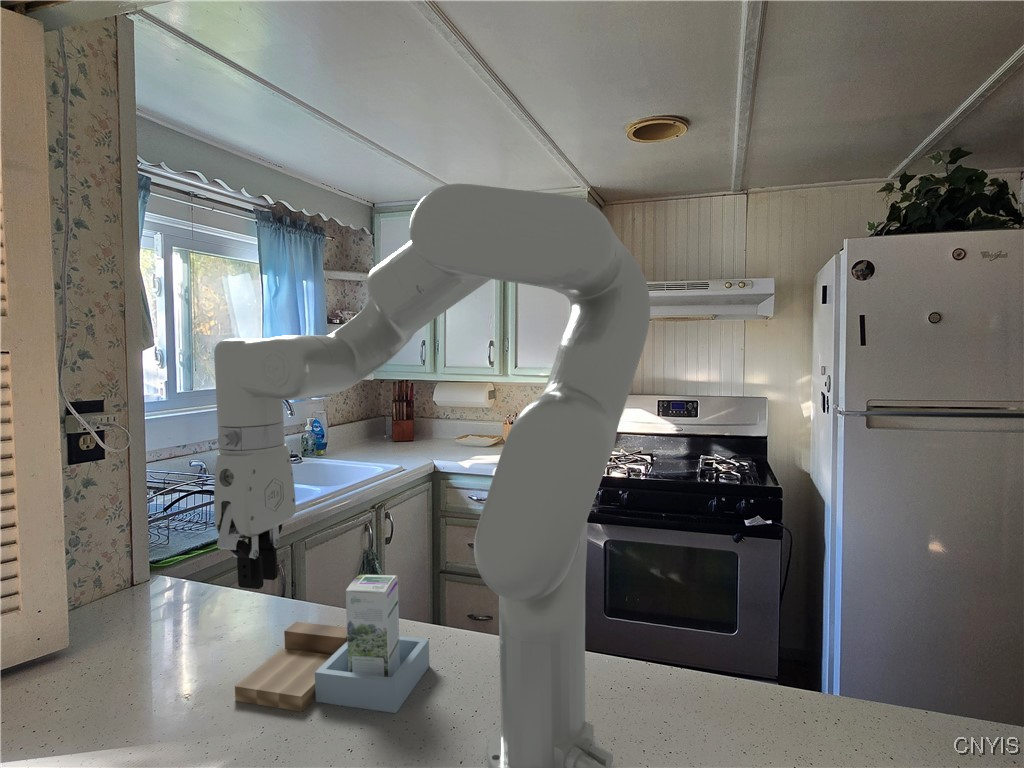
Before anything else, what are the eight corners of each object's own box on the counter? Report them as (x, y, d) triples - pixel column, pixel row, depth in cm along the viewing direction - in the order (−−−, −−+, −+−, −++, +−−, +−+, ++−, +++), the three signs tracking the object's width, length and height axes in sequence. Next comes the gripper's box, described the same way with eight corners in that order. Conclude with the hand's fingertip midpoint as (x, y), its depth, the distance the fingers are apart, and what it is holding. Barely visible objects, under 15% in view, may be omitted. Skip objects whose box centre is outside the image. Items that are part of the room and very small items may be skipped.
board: (343, 669, 85) (342, 656, 85) (301, 711, 76) (301, 696, 76) (282, 661, 88) (282, 648, 88) (235, 700, 78) (234, 686, 78)
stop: (356, 657, 89) (355, 628, 88) (346, 668, 86) (345, 638, 86) (297, 650, 91) (296, 621, 91) (285, 660, 88) (284, 630, 88)
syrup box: (401, 672, 85) (399, 573, 84) (389, 696, 79) (386, 590, 78) (362, 670, 85) (359, 572, 84) (347, 694, 79) (344, 589, 78)
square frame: (429, 665, 86) (428, 639, 86) (395, 713, 75) (395, 682, 75) (358, 657, 89) (357, 631, 89) (315, 701, 78) (314, 672, 78)
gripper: (233, 450, 65) (241, 613, 66) (314, 429, 80) (319, 562, 81) (176, 448, 67) (184, 607, 68) (266, 428, 82) (271, 558, 83)
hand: (258, 581), depth 75 cm, fingers closed
